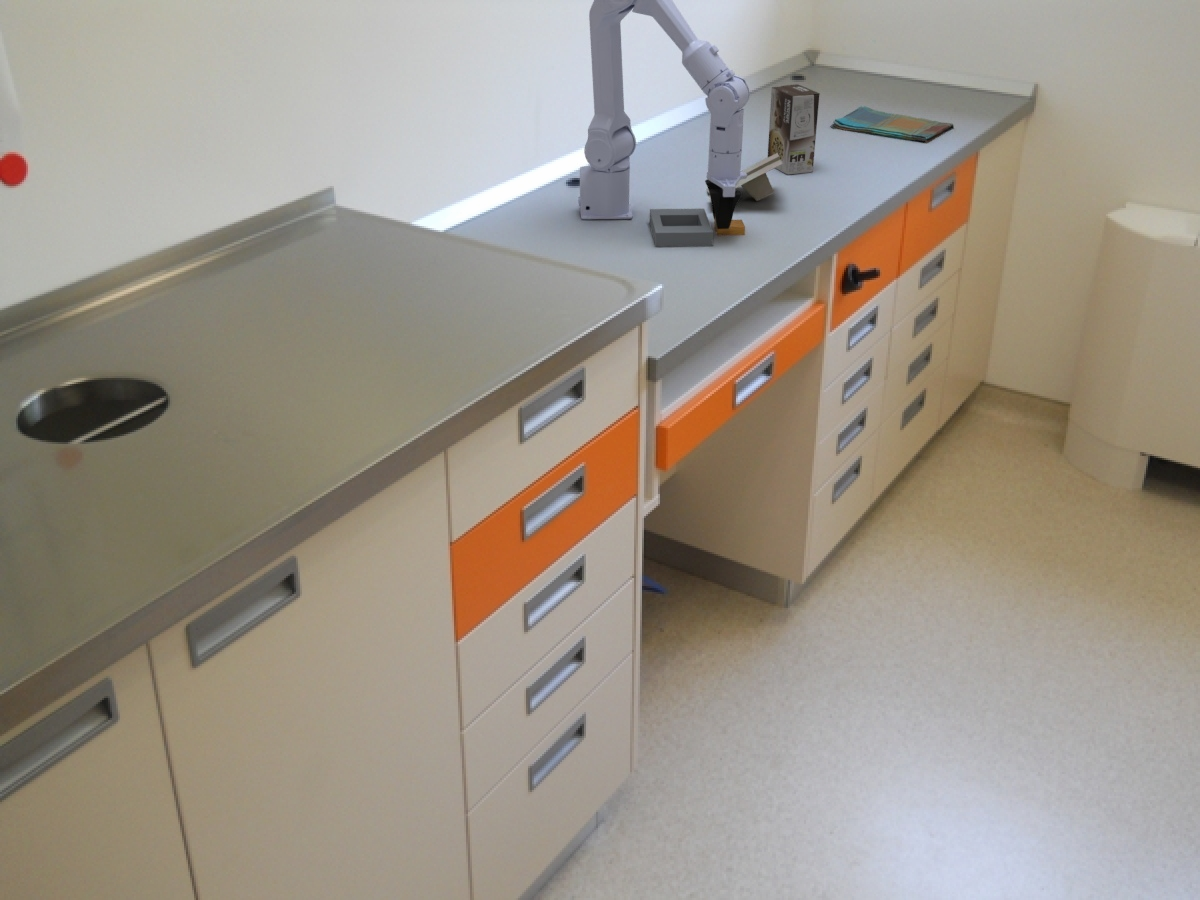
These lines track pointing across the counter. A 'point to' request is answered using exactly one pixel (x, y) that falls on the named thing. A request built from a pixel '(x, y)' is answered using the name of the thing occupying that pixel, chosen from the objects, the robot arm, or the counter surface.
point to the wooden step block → (731, 228)
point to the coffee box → (793, 127)
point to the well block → (680, 227)
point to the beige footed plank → (759, 178)
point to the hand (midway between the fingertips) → (721, 223)
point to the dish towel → (891, 125)
